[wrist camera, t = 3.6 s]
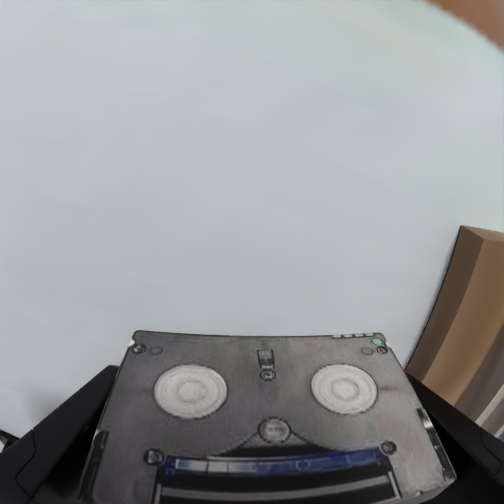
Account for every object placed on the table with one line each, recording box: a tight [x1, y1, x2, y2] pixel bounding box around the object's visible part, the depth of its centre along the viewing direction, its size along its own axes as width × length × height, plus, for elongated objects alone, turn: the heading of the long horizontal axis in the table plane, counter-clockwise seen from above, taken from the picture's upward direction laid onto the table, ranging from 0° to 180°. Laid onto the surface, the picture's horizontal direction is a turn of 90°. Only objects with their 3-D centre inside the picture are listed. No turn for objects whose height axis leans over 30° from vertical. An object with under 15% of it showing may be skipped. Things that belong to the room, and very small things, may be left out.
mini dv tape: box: [76, 330, 456, 504], centre depth 7 cm, size 8×2×6 cm, turn 87°
